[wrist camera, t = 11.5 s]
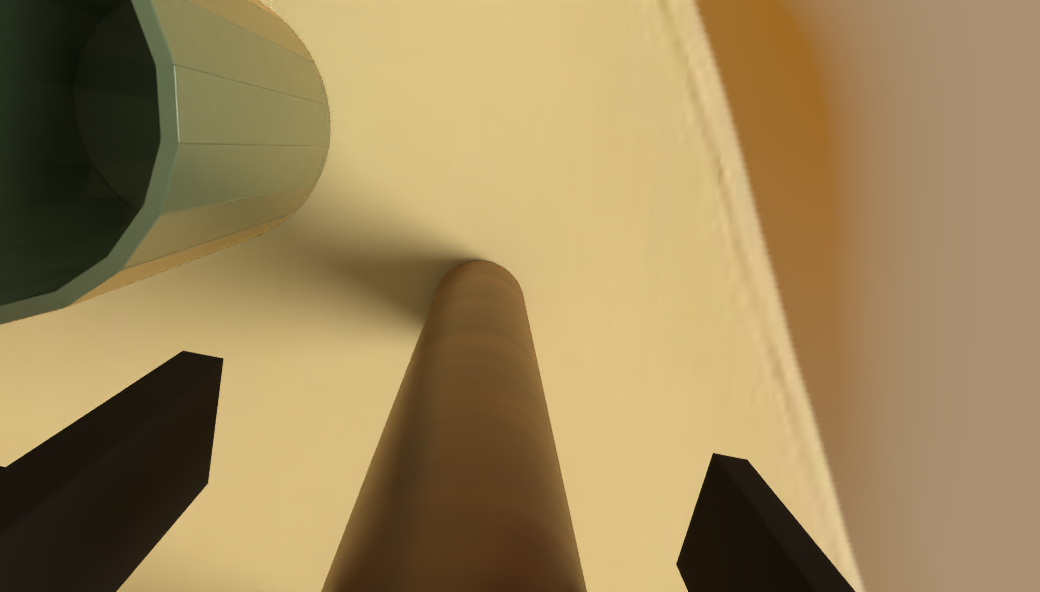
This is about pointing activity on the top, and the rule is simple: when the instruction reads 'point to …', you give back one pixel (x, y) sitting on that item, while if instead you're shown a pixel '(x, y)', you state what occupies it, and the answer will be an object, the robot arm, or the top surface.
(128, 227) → the tin
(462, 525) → the stick
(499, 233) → the top surface
